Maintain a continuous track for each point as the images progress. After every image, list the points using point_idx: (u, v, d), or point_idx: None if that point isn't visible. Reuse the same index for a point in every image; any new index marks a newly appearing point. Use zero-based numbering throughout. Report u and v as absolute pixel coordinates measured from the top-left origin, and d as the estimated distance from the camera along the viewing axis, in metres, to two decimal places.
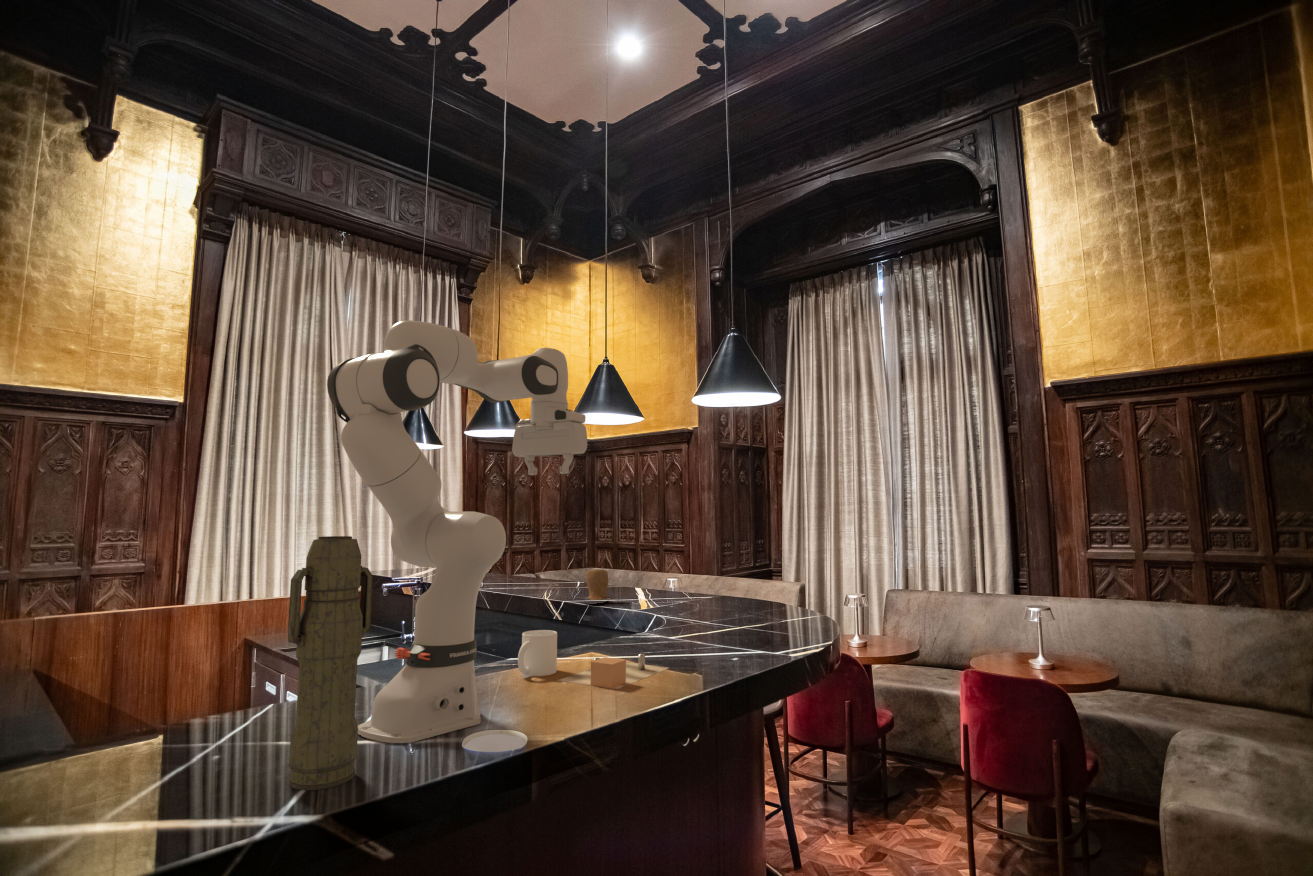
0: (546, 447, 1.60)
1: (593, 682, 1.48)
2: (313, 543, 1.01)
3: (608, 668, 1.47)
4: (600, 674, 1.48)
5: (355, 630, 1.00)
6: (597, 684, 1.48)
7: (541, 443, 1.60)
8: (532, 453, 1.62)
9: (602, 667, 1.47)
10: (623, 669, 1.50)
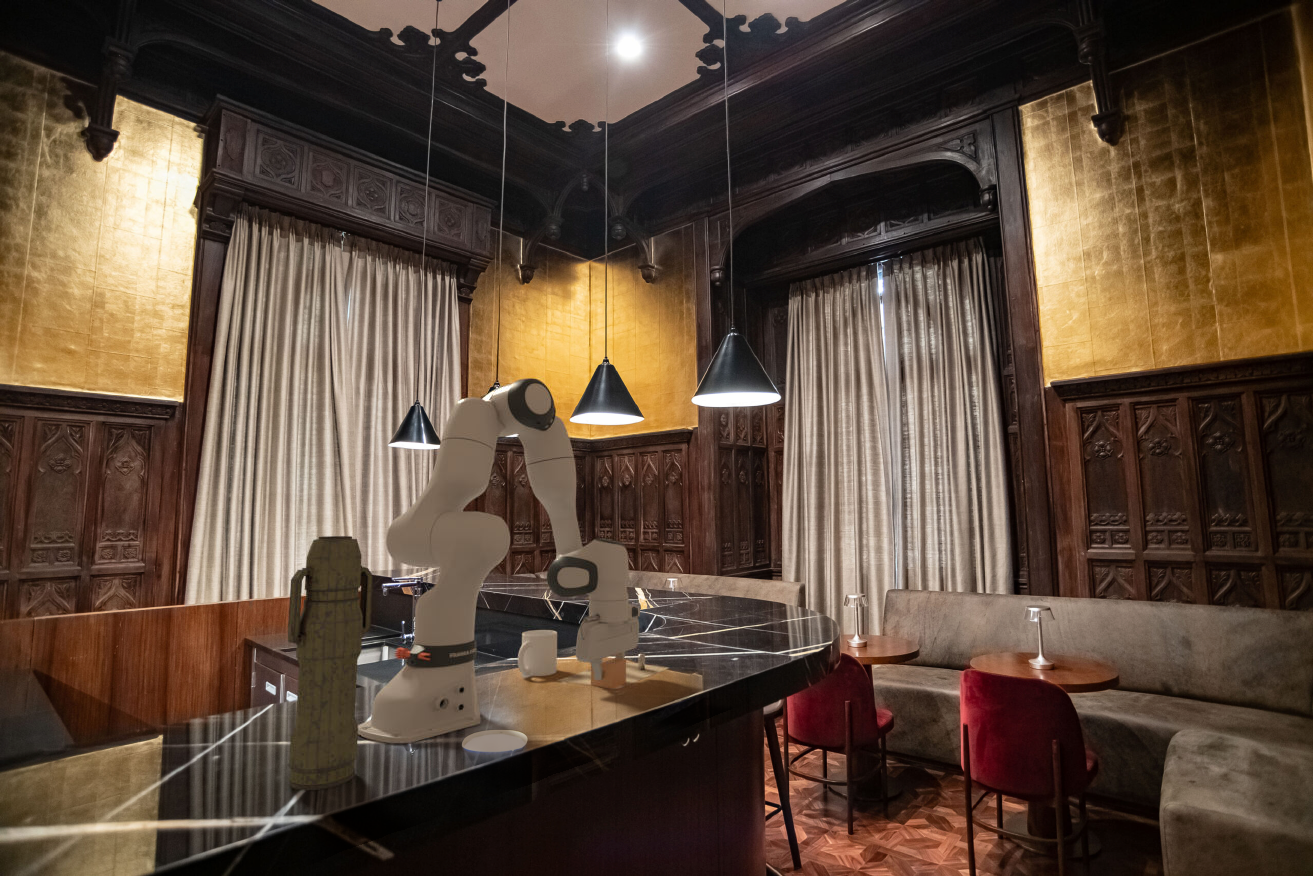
0: (617, 647, 1.50)
1: (594, 682, 1.48)
2: (313, 543, 1.01)
3: (608, 668, 1.47)
4: None
5: (355, 630, 1.00)
6: (597, 684, 1.48)
7: (613, 644, 1.49)
8: (606, 656, 1.47)
9: (602, 667, 1.47)
10: (623, 669, 1.50)
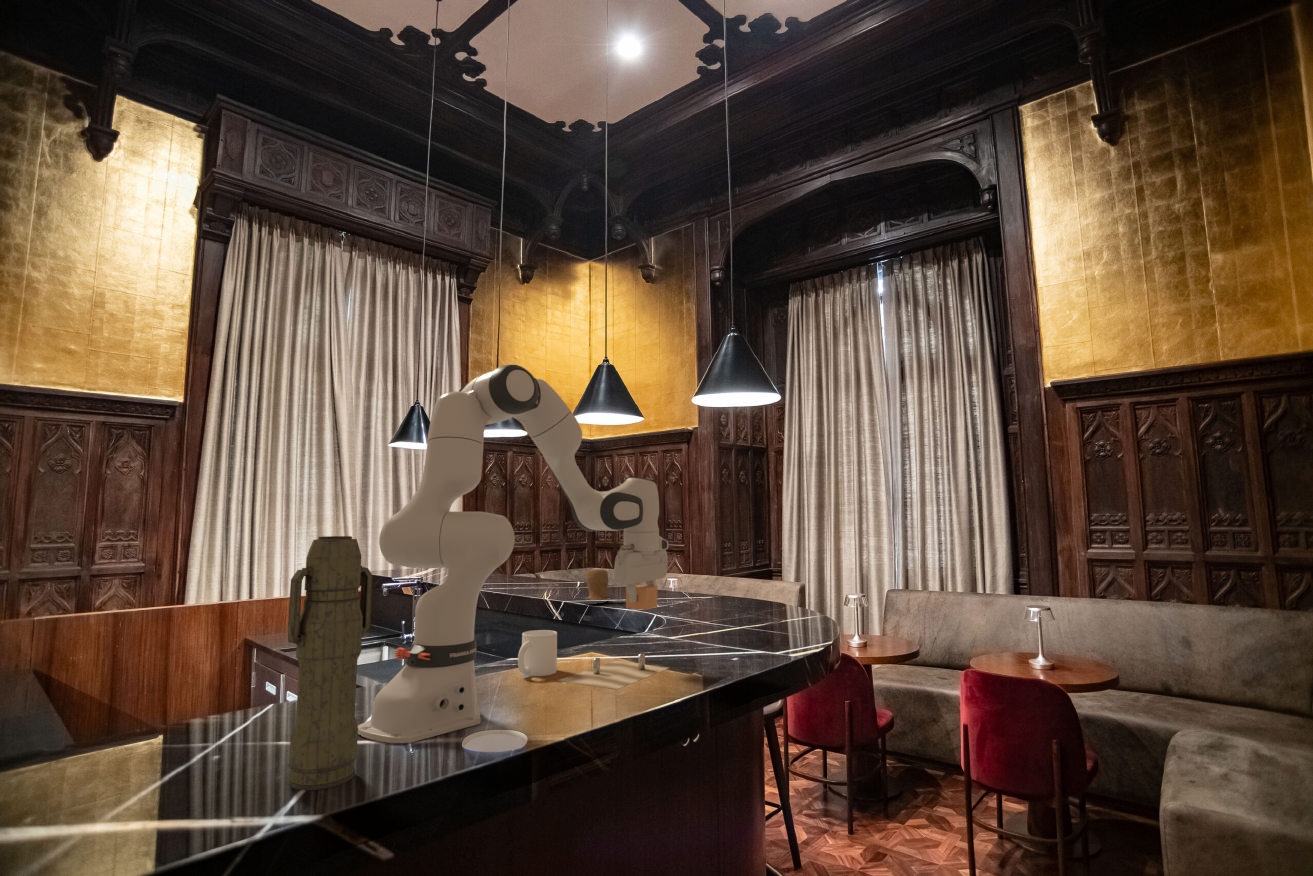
0: (649, 574, 1.66)
1: (628, 605, 1.64)
2: (313, 543, 1.01)
3: (642, 592, 1.63)
4: None
5: (355, 630, 1.00)
6: (632, 606, 1.64)
7: (646, 571, 1.65)
8: (640, 581, 1.63)
9: (636, 591, 1.64)
10: (655, 594, 1.66)
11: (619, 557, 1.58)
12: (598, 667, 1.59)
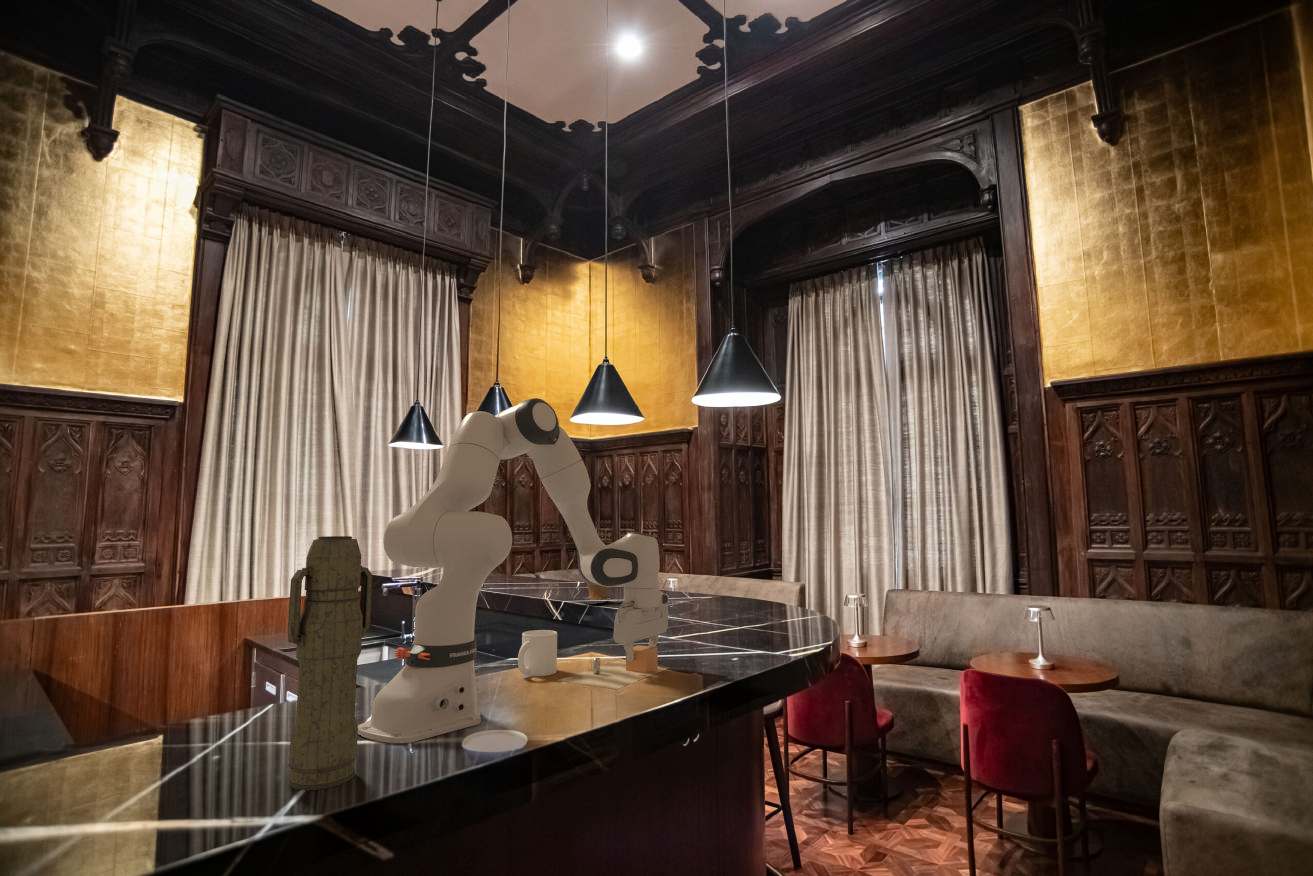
0: (649, 631, 1.65)
1: (628, 667, 1.62)
2: (313, 543, 1.01)
3: (642, 655, 1.61)
4: (635, 660, 1.62)
5: (355, 630, 1.00)
6: (632, 669, 1.62)
7: (646, 628, 1.63)
8: (640, 638, 1.61)
9: (636, 654, 1.62)
10: (655, 656, 1.64)
11: (619, 615, 1.56)
12: (598, 667, 1.59)
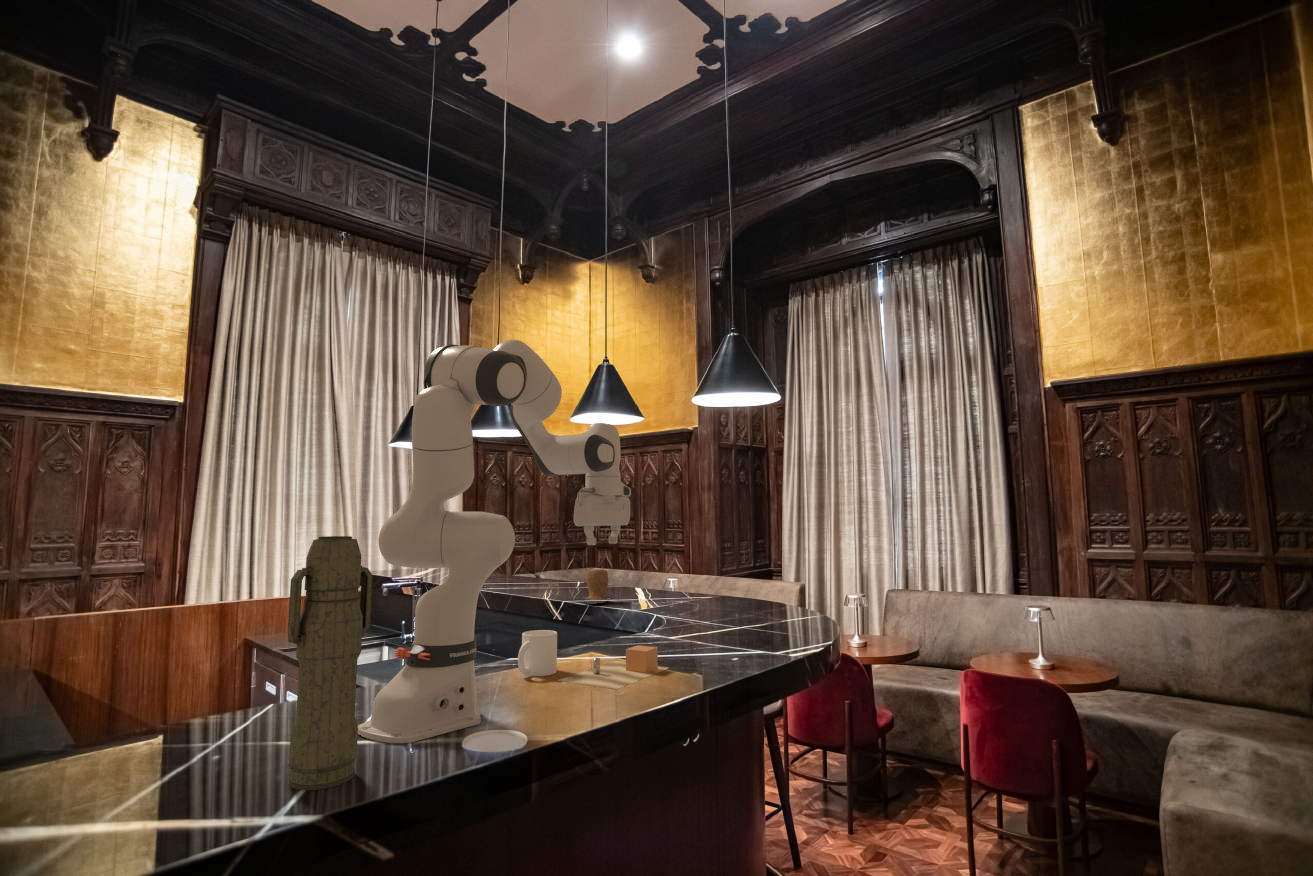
0: (610, 519, 1.69)
1: (628, 667, 1.62)
2: (313, 543, 1.01)
3: (642, 655, 1.61)
4: (635, 660, 1.62)
5: (355, 630, 1.00)
6: (632, 669, 1.62)
7: (607, 515, 1.68)
8: (600, 524, 1.65)
9: (636, 654, 1.62)
10: (655, 656, 1.64)
11: (579, 498, 1.61)
12: (598, 667, 1.59)
